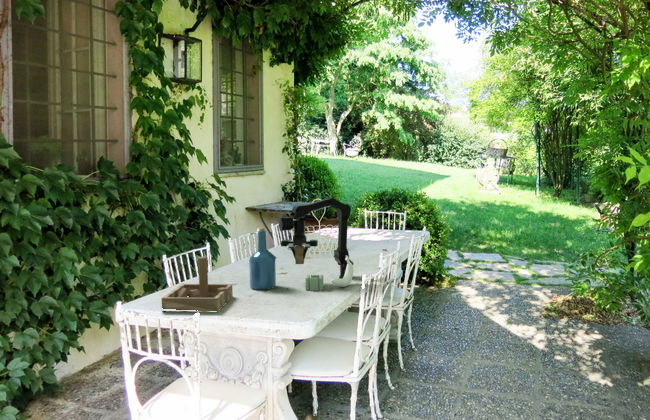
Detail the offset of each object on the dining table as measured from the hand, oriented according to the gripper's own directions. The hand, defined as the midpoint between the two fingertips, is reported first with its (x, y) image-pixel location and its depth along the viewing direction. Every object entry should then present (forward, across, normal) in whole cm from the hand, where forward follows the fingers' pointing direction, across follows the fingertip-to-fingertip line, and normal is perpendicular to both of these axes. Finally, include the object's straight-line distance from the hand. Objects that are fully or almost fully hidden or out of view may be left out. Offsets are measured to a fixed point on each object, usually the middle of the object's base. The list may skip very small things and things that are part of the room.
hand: (299, 259), depth 298 cm
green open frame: (+12, +9, -14) cm, 20 cm away
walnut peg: (+2, 0, 0) cm, 2 cm away
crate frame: (+12, -40, -45) cm, 61 cm away
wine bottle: (+12, -17, -12) cm, 24 cm away
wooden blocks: (+12, -40, -45) cm, 61 cm away
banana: (+12, +23, -9) cm, 28 cm away
